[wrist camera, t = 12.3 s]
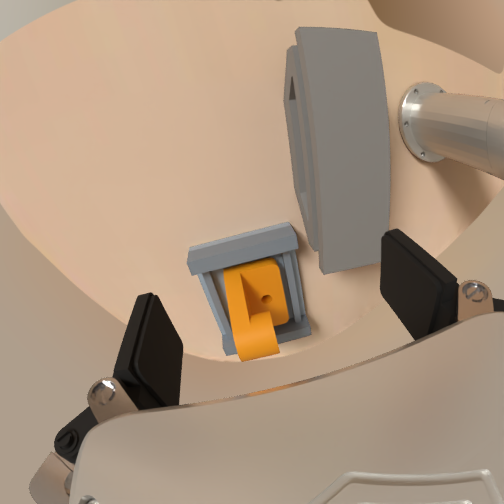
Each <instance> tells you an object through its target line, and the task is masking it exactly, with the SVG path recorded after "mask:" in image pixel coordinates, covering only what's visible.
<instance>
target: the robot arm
mask: <svg viewBox="0 0 504 504" xmlns="http://www.w3.org/2000/svg"><path fill="white" fill-rule="evenodd" d="M398 118H399V127H400V132H401V135H402V138H403V140H404V142H405V144H406V146H407V148H408V149H409V150H410V151H411V153H412V154H414V155H415V156H416V157H418V158H419V159H421V160H424V161H427V162H438V161H441V160H443V159H444V158H449V159H452V160H455V161H458V162H460V163H463V164H466V165H468V166H471V167H473V168H476V169H479V170H481V171H483V172H486V173H488V174H491V175H493V176H495V177H498V178H500V179H502V180H504V100H503V99H497V98H490V97H483V96H474V95H465V94H453V93H446V92H445V91H444V90H443V89H442V88H441V87H439V86H438V85H435V84H433V83H428V82H422V83H417V84H415V85H413V86H411V87H410V88H409V89H408V90H407V91H406V93H405V94H404V96H403V98H402V100H401V103H400V107H399V117H398ZM380 291H381V294H382V296H383V298H384V299H385V300H386V301H387V303H388V304H389V305H390V307H391V308H392V309H393V311H394V312H395V313H396V315H397V316H398V318H399V319H400V320H401V322H402V323H403V324H404V326H405V327H406V329H407V330H408V331H409V333H410V334H411V336H412V337H413V338H414V340H415V341H413V342H411V343H409V344H407V345H404V346H402V347H399V348H397V349H394V350H392V351H390V352H387V353H384V354H382V355H379V356H377V357H374V358H371V359H368V360H366V361H363V362H360V363H357V364H354V365H351V366H348V367H346V368H342V369H339V370H336V371H333V372H330V373H327V374H323V375H320V376H317V377H313V378H310V379H307V380H303V381H299V382H296V383H292V384H288V385H284V386H280V387H276V388H272V389H267V390H263V391H258V392H254V393H249V394H244V395H239V396H234V397H229V398H223V399H217V400H211V401H204V402H199V403H192V404H184V405H179V397H180V383H181V370H182V357H183V343H182V341H181V339H180V337H179V335H178V333H177V331H176V330H175V328H174V326H173V324H172V322H171V320H170V318H169V316H168V315H167V313H166V311H165V309H164V307H163V305H162V303H161V301H160V299H159V297H158V296H157V295H153V294H152V293H147V294H142V295H139V296H138V297H137V299H136V302H135V305H134V308H133V311H132V314H131V317H130V320H129V323H128V326H127V329H126V332H125V335H124V338H123V341H122V345H121V347H120V351H119V354H118V357H117V361H116V364H115V368H114V373H113V377H106V378H102V379H100V380H98V381H97V382H95V383H94V384H93V385H92V387H91V388H90V390H89V392H88V396H87V400H88V404H89V407H88V408H86V409H85V410H84V411H83V412H82V413H80V414H79V415H78V416H77V417H76V418H75V419H73V420H72V421H71V422H70V423H68V424H67V425H66V426H65V427H64V428H62V429H61V430H60V431H59V432H58V434H57V436H56V438H55V441H54V447H55V450H56V452H55V453H53V452H50V454H49V455H48V457H47V458H46V460H45V461H44V463H43V464H42V465H41V467H40V468H39V470H38V471H37V472H36V474H35V475H34V477H33V478H32V480H31V482H30V486H29V490H30V494H31V496H32V498H33V499H34V500H35V502H36V503H37V504H504V300H500V299H495V298H492V293H491V290H490V289H489V288H488V287H487V286H486V285H485V284H484V283H482V282H480V281H476V280H468V281H464V282H463V283H461V285H459V284H458V283H457V278H456V277H455V276H454V275H453V274H451V273H450V272H449V271H448V270H447V269H446V268H445V267H444V266H443V265H441V264H440V263H439V262H438V261H437V260H436V259H435V258H433V257H432V256H431V255H430V254H429V253H428V252H426V251H425V250H424V249H423V248H422V247H420V246H419V245H418V244H417V243H415V242H414V241H413V240H412V239H411V238H409V237H408V236H407V235H406V234H404V233H403V232H402V231H400V230H399V229H393V230H390V231H386V232H385V233H384V236H382V238H381V277H380Z"/></svg>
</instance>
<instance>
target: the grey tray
mask: <svg viewBox="0 0 504 504" xmlns="http://www.w3.org/2000/svg"><path fill="white" fill-rule="evenodd" d="M295 249H298V242H297V236H296V233H295V232H294V230H293V228H292V227H291V225H290V223H289V222H286V223H282V224H278V225H274V226H270V227H266V228H262V229H259V230H255V231H251V232H247V233H243V234H239V235H235V236H231V237H228V238H224V239H220V240H216V241H212V242H209V243H205V244H201V245H197V246H194V247H190V248H189V253H188V259H187V265H188V267H189V270H190V272H191V275H192V276H193V275H197V274H198V277H199V280H200V282H201V285H202V287H203V290H204V292H205V295H206V297H207V300H208V302H209V305H210V307H211V309H212V312H213V314H214V317H215V319H216V321H217V324H218V326H219V328H220V331H221V333H222V340H223V349H224V352H225V354H226V356H228V355H233V354H238V352H237V349H236V346H235V342H234V338H233V332H232V326H231V320H230V314H229V308H228V302H227V295H226V289H225V283H224V275H223V269H225V268H229V267H233V266H237V265H241V264H245V263H249V262H253V261H257V260H261V259H265V258H274V259H275V260H276V262H277V264H278V267H279V270H280V275H281V280H282V285H283V290H284V295H285V300H286V305H287V310H288V315H289V320H288V321H287V322H286V323H284V324H281V325H277V326H273V327H274V331H275V335H276V339H277V343H278V344H280V343H284V342H287V341H291V340H295V339H298V338H302V337H306V336H309V335H311V327H310V324H309V322H308V319H307V317H306V314H305V307H304V301H303V294H302V288H301V282H300V276H299V270H298V264H297V258H296V252H295Z"/></svg>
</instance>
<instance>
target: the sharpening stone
mask: <svg viewBox="0 0 504 504" xmlns="http://www.w3.org/2000/svg"><path fill="white" fill-rule="evenodd" d="M295 35H296V41H297V45H296V46H291V47H290V48H289V49H288V50H287V57H286V73H285V87H284V108H285V115H286V122H287V130H288V137H289V145H290V154H291V162H292V171H293V180H294V188H295V192H296V195H297V199H298V203H299V206H300V210H301V214H302V218H303V222H304V225H305V229H306V233H307V237H308V241H309V244H310V246H311V247H312V249H313V250H314V252H315V251H319V268H320V270H321V271H322V273H323V275H325V274H330V273H334V272H339V271H344V270H348V269H353V268H357V267H362V266H366V265H371V264H375V263H379V262H381V238H382V236H384V233H385V232H386V231H388V230H389V212H390V137H389V120H388V108H387V97H386V88H385V80H384V72H383V65H382V59H381V53H380V47H379V42H378V37H377V32H370V31H362V30H352V29H341V28H324V27H299V28H298V29H297V30H296V31H295Z"/></svg>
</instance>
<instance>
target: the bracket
mask: <svg viewBox="0 0 504 504" xmlns="http://www.w3.org/2000/svg"><path fill="white" fill-rule="evenodd" d="M223 275H224V283H225V289H226V295H227V302H228V308H229V314H230V320H231V326H232V332H233V338H234V342H235V346H236V349H237V352H238V355H239V358H240V360H241V361H242V362H244V361H248V360H253V359H257V358H261V357H266V356H270V355H274V354H278V353H280V351H279V347H278V343H277V339H276V335H275V331H274V327H273V326H277V325H281V324H284V323H286V322H287V321H288V320H289V315H288V310H287V305H286V300H285V295H284V290H283V285H282V280H281V275H280V270H279V267H278V264H277V262H276V260H275V259H274V258H265V259H261V260H257V261H253V262H249V263H245V264H241V265H237V266H233V267H229V268H225V269H223Z"/></svg>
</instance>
